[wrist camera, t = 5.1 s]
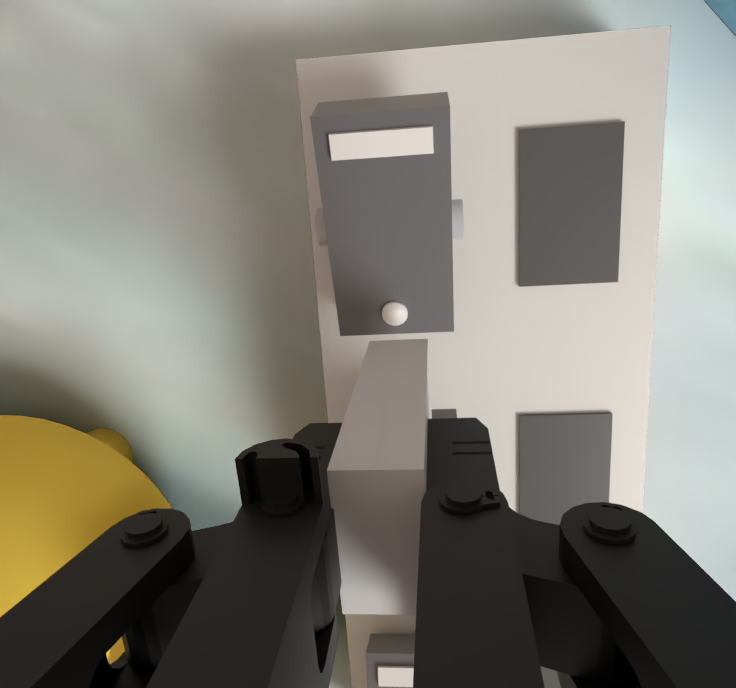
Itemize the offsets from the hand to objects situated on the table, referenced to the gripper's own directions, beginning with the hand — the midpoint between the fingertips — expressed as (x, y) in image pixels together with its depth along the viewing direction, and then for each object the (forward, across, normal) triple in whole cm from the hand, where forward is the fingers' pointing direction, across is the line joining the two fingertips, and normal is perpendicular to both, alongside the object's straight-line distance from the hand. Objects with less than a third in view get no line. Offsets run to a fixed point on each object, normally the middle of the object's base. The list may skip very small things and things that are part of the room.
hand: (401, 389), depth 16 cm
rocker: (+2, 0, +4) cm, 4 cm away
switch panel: (+7, +2, -5) cm, 8 cm away
